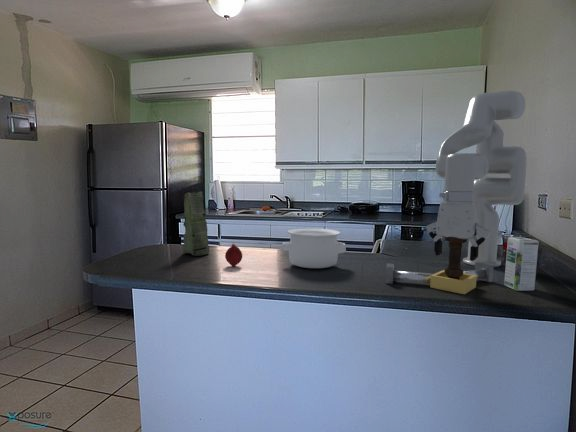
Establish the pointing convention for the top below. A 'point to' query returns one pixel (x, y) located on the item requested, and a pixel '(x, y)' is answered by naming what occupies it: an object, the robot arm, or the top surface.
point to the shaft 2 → (482, 272)
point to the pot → (313, 247)
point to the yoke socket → (453, 282)
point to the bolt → (454, 257)
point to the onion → (233, 255)
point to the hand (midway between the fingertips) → (455, 257)
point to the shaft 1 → (406, 276)
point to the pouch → (195, 225)
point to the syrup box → (521, 263)
